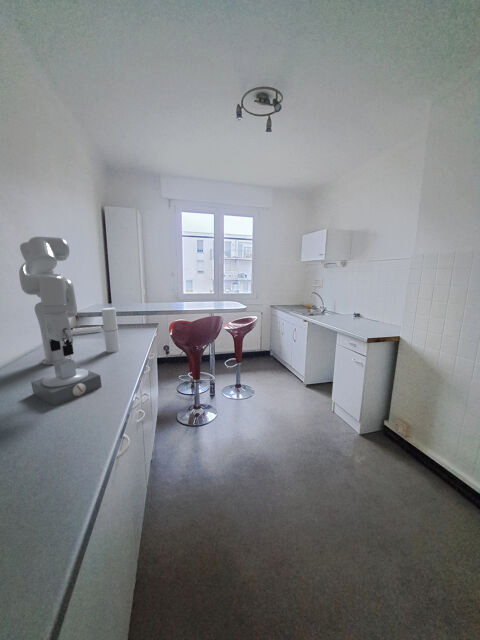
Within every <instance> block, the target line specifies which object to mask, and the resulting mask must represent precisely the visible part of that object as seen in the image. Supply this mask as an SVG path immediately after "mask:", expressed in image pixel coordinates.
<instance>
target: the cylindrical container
mask: <svg viewBox="0 0 480 640" xmlns="http://www.w3.org/2000/svg"><path fill="white" fill-rule="evenodd" d="M101 316H102V325H103V333H104V341H105V342H104V343H105V349H106V350H105V351H106V352H107V353H116V352H119V351H121V347H120V340H119V339H120V337H119V331H118V329H119V328H118V321H117V320H118V319H117V310H116V307H105V308H101Z"/></svg>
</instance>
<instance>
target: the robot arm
mask: <svg viewBox="0 0 480 640" xmlns="http://www.w3.org/2000/svg"><path fill="white" fill-rule="evenodd" d="M19 248H20V249H19V250H20V253H21V256H22V257H23V259H24V261H25V262H24V263H22V265H20V268H19V272H18V274H19V275H18V276H19V281H20V286H21V290H22V291H23V292H24V293H25V294H26V295H31V296H33V295H34V296H35V295H36V296H37V297H38V298H40V302H37V303H36V304H35V305H34V313H35V315H36V318H37V321H38V325H39V329H40V335H41V340H42V345H43V351H44V356H45V358H44V359H43V360H41V362H42V363H41V364H43V365H44V366H45V365H47V366H49V365H51V366H52V365H54V362H57V361H61V360H64V359H71V360H72V355H74V354H75V353H74V346H73V342H74V339H73V338H74V335H73V333H72V330H71V325H70V320H69V318H75V317H77V315H78V307H77V306H78V305H77V300H76V293H75V289H74V284H73V282H72V280H70V279H68V278H66V277H65V276H64V275H62V274H57V273H56V274H54V269H55V268H56V266H57V264H58V262H60V261H61V262H64V261H66V260H67V259H68V257H69V256H70V245H69V244H68V242H67V240H66V239H64V238H63V237H62V238H61V237H50V236H34V237H31V238H30V239H28V241H26V242H22V243H21V244H20V245H19Z"/></svg>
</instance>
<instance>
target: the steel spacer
mask: <svg viewBox="0 0 480 640" xmlns="http://www.w3.org/2000/svg"><path fill="white" fill-rule="evenodd" d="M53 367H54V373H55V374H56V377H57V378H60V379H62V380H63V379H66V378H69V377H72V376H75V375H76V369H75V368H76V363H75V360H73V359H72V358H71V359H64V360H61V361H57V362H54V364H53Z"/></svg>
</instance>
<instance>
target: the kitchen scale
mask: <svg viewBox="0 0 480 640" xmlns="http://www.w3.org/2000/svg"><path fill="white" fill-rule="evenodd" d="M75 369H76V375H75V376H72V377H69V378H66V379H63V380H62V379H60V378H57V377H56V374H55V372H54V373H51V374H49V375H47V376H45V377H42V378H39V379H36V380H33V381H30V384H31V389H32V393H33V394H32V395H35V396H37V397H38V398H40V399H41V400H44V401H45V402H47V403H49V404H50V405H53V406H55V407H56V406H57V405H60V404H63V403H65V402H68V401H69V400H72V399H74V398H77V397H79V396H83V395H84V394H86V393H89V392H92V391H94V390H97V389H99V388H101V387H102V380H101V375H100V374H98V373H95V372H93V371H90V370H88V369H86V368H81V367H78V366H77V367H75Z"/></svg>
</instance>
